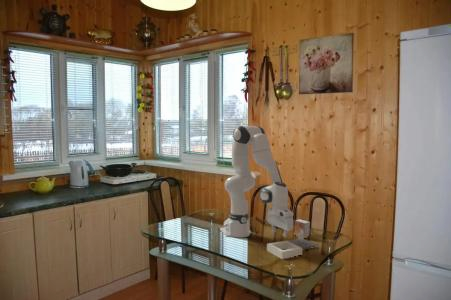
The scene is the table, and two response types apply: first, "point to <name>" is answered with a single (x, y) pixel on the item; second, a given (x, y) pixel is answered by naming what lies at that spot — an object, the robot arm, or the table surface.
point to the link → (283, 254)
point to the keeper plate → (305, 244)
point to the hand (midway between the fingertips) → (279, 234)
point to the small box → (302, 227)
